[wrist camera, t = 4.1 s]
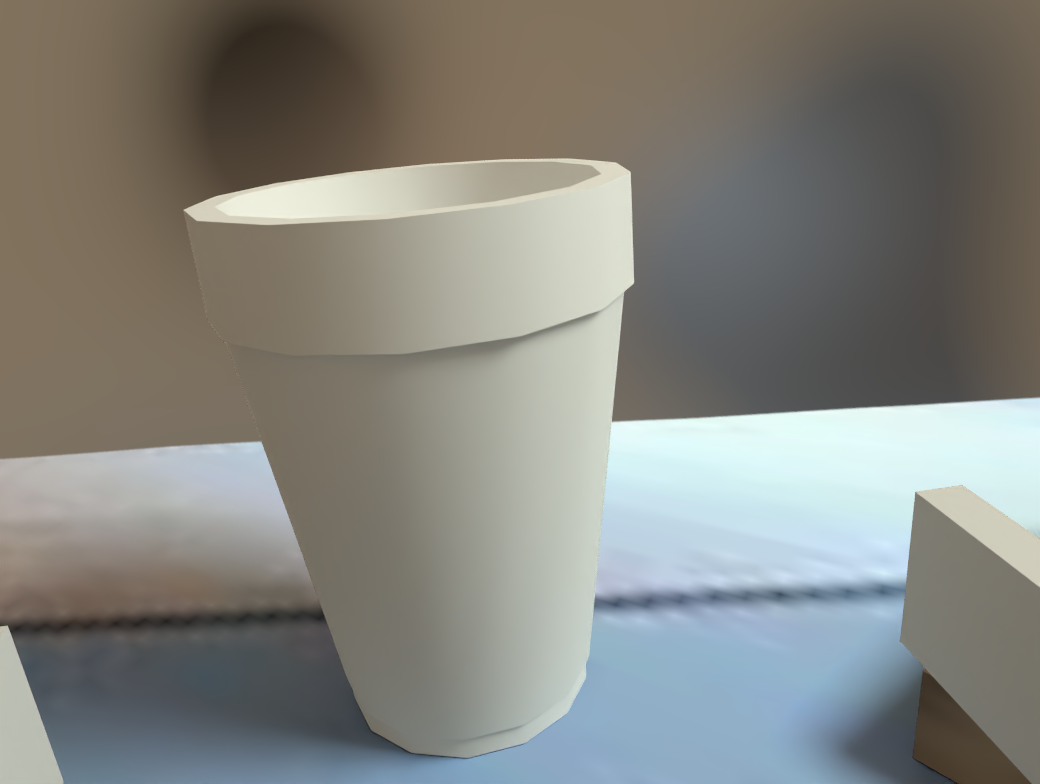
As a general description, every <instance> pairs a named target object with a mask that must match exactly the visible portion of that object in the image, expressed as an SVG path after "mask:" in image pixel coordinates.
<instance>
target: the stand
mask: <svg viewBox="0 0 1040 784" xmlns="http://www.w3.org/2000/svg"><path fill="white" fill-rule="evenodd" d="M913 758H914V759H916V760H918V761H920V762H921V763H923V764H925V765H927V766H928V767H930V768H932V769H934V770H935V771H937V772H939V773H941V774H942V775H944V776H946V777H948V778H949V779H951V780H953V781H954V782H956V783H958V784H1032V783H1031V782H1030V781H1029V780H1028V779H1027V778H1026V777H1025V776H1024V775H1023V774H1022V773H1021V772H1020V770H1019V769H1018V768H1017V767H1016V766H1015V765H1014V764H1013V763H1012V762H1011V761H1010V760H1009V759H1008V757H1007V756H1006V755H1005V754H1004V753H1003V752H1002V751H1001V750H1000V749H999V748H998V747H997V746H996V744H995V743H994V742H993V741H992V740H991V739H990V738H989V737H988V736H987V735H986V734H985V733H984V731H983V730H982V729H981V728H980V727H979V726H978V725H977V724H976V723H975V722H974V721H973V720H972V718H971V717H970V716H969V715H968V714H967V713H966V712H965V711H964V710H963V709H962V708H961V707H960V705H959V704H958V703H957V702H956V701H955V700H954V699H953V698H952V697H951V696H950V695H949V694H948V692H947V691H946V690H945V689H944V688H943V687H942V686H941V685H940V684H939V683H938V682H937V681H936V679H935V678H934V677H933V676H932V675H931V674H930V673H929V672H928V671H927V670H926V669H925V670H924V671H923V675H922V683H921V692H920V701H919V709H918V718H917V726H916V735H915V744H914V752H913Z"/></svg>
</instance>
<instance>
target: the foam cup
mask: <svg viewBox="0 0 1040 784" xmlns="http://www.w3.org/2000/svg"><path fill="white" fill-rule="evenodd" d="M184 215H185V220H186V224H187V229H188V233H189V238H190V242H191V247H192V251H193V256H194V261H195V265H196V270H197V274H198V279H199V283H200V288H201V292H202V297H203V301H204V306H205V310H206V315H207V319H208V321H209V322H210V324H211V325H212V327H213V328H214V329H215V331H216V332H217V334H218V335H219V336H220V338H221V340H222V341H223V342H226V344H227V347H228V350H229V353H230V355H231V358H232V361H233V364H234V367H235V369H236V372H237V375H238V378H239V380H240V383H241V386H242V389H243V391H244V394H245V397H246V400H247V403H248V405H249V408H250V411H251V413H252V416H253V419H254V421H255V425H256V427H257V430H258V433H259V435H260V439H261V441H262V444H263V447H264V450H265V452H266V455H267V458H268V461H269V463H270V466H271V469H272V472H273V475H274V477H275V480H276V483H277V486H278V488H279V491H280V494H281V497H282V499H283V502H284V505H285V508H286V511H287V513H288V516H289V519H290V522H291V524H292V527H293V530H294V533H295V535H296V538H297V541H298V544H299V547H300V549H301V552H302V555H303V558H304V560H305V563H306V566H307V569H308V571H309V574H310V577H311V580H312V583H313V585H314V588H315V591H316V594H317V596H318V599H319V602H320V605H321V607H322V610H323V613H324V616H325V619H326V621H327V624H328V627H329V630H330V632H331V635H332V638H333V641H334V643H335V646H336V649H337V652H338V655H339V657H340V660H341V663H342V666H343V668H344V671H345V674H346V677H347V679H348V681H349V683H350V685H351V687H352V689H353V692H354V697H355V699H356V701H357V703H358V705H359V707H360V709H361V711H362V713H363V715H364V717H365V719H366V721H367V723H368V725H369V727H370V729H371V730H372V731H373V732H375V733H377V734H379V735H380V736H382V737H384V738H386V739H388V740H389V741H391V742H393V743H395V744H396V745H398V746H400V747H402V748H404V749H405V750H407V751H409V752H411V753H417V754H428V755H439V756H450V757H462V758H470V757H474V756H478V755H482V754H486V753H489V752H493V751H497V750H501V749H505V748H509V747H512V746H516V745H520V744H524V743H526V742H528V741H529V740H530V739H532V738H533V737H535V736H536V735H537V734H539V733H540V732H542V731H543V730H544V729H546V728H547V727H549V726H550V725H551V724H553V723H554V722H556V721H557V720H559V719H560V718H561V717H563V716H564V715H566V714H567V713H568V711H569V709H570V707H571V705H572V704H573V702H574V700H575V698H576V696H577V694H578V692H579V690H580V688H581V686H582V684H583V682H584V680H585V678H586V664H585V663H586V662H587V660H588V658H589V650H590V640H591V629H592V619H593V608H594V598H595V588H596V577H597V567H598V557H599V546H600V536H601V525H602V515H603V505H604V494H605V484H606V473H607V463H608V453H609V442H610V432H611V422H612V411H613V400H614V390H615V380H616V369H617V359H618V349H619V338H620V328H621V318H622V307H623V297H624V296H623V295H624V291H625V290H626V289H628V288H629V287H630V286H631V285H632V284H633V283H634V269H633V238H632V237H633V235H632V203H631V172H630V171H628V170H627V169H625V168H623V167H622V166H620V165H619V164H618V163H615V162H603V161H592V160H580V159H507V160H506V159H502V160H487V161H471V162H455V163H439V164H426V165H416V166H406V167H398V168H387V169H378V170H369V171H358V172H349V173H342V174H336V175H329V176H322V177H316V178H309V179H302V180H295V181H288V182H282V183H275V184H270V185H266V186H262V187H257V188H252V189H247V190H243V191H238V192H234V193H229V194H224V195H220V196H215V197H213V198H211V199H209V200H206V201H203V202H201V203H199V204H197V205H194V206H192V207H189V208H187V209H184Z"/></svg>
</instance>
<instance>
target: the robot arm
mask: <svg viewBox="0 0 1040 784" xmlns="http://www.w3.org/2000/svg"><path fill="white" fill-rule="evenodd" d="M900 642H901V643H902V644H903V645H904V646H905V647H906V648H907V649H908V650H909V651H910V652H911V653H912V655H913V656H914V657H915V658H916V659H917V660H918V661H919V662H920V663H921V664H922V665H923V666H924V668H925V669H926V670H927V671H928V672H929V673H930V674H931V675H932V676H933V677H934V678H935V679H936V681H937V682H938V683H939V684H940V685H941V686H942V687H943V688H944V689H945V690H946V691H947V692H948V694H949V695H950V696H951V697H952V698H953V699H954V700H955V701H956V702H957V703H958V704H959V705H960V707H961V708H962V709H963V710H964V711H965V712H966V713H967V714H968V715H969V716H970V717H971V718H972V720H973V721H974V722H975V723H976V724H977V725H978V726H979V727H980V728H981V729H982V730H983V731H984V733H985V734H986V735H987V736H988V737H989V738H990V739H991V740H992V741H993V742H994V743H995V744H996V746H997V747H998V748H999V749H1000V750H1001V751H1002V752H1003V753H1004V754H1005V755H1006V756H1007V757H1008V759H1009V760H1010V761H1011V762H1012V763H1013V764H1014V765H1015V766H1016V767H1017V768H1018V769H1019V770H1020V772H1021V773H1022V774H1023V775H1024V776H1025V777H1026V778H1027V779H1028V780H1029V781H1030V782H1031V783H1032V784H1040V539H1039V538H1038V537H1036V536H1035V535H1033V534H1032V533H1031V532H1029V531H1028V530H1026V529H1025V528H1023V527H1022V526H1021V525H1019V524H1018V523H1016V522H1015V521H1013V520H1012V519H1010V518H1009V517H1008V516H1006V515H1005V514H1003V513H1002V512H1000V511H999V510H997V509H996V508H995V507H993V506H992V505H990V504H989V503H987V502H986V501H984V500H983V499H982V498H980V497H979V496H977V495H976V494H974V493H973V492H971V491H970V490H969V489H967V488H966V487H964V486H963V485H959V486H952V487H946V488H939V489H932V490H925V491H919V492H915V502H914V512H913V521H912V531H911V541H910V551H909V560H908V570H907V580H906V590H905V599H904V609H903V619H902V628H901V638H900ZM63 782H64V781H63V779H62V776H61V773H60V770H59V767H58V765H57V762H56V759H55V756H54V754H53V751H52V748H51V745H50V742H49V740H48V737H47V734H46V731H45V728H44V726H43V723H42V720H41V717H40V714H39V712H38V709H37V706H36V703H35V700H34V698H33V695H32V692H31V689H30V686H29V684H28V681H27V678H26V675H25V672H24V670H23V667H22V664H21V661H20V658H19V656H18V653H17V650H16V647H15V644H14V642H13V639H12V636H11V633H10V631H9V628H8V626H2V627H0V784H63Z"/></svg>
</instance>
